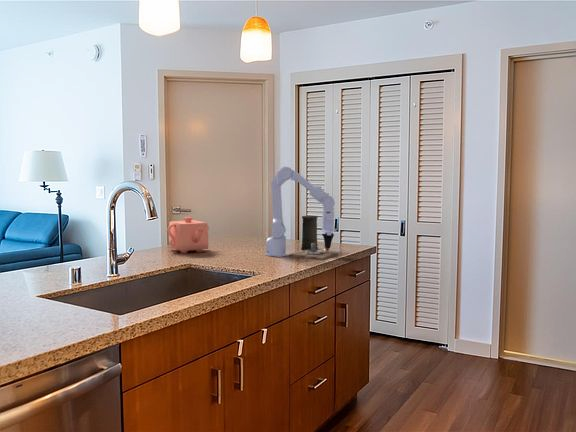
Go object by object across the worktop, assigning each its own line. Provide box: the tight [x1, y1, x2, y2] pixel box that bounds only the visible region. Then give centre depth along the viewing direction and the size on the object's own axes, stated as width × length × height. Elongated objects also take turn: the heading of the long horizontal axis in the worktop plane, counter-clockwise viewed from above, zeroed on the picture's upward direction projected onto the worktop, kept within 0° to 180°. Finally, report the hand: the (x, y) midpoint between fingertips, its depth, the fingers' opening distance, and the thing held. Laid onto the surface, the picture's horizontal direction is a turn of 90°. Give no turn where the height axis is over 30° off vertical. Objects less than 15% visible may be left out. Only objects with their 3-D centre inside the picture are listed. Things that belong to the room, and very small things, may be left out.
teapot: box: [166, 216, 210, 254], centre depth 266 cm, size 25×23×18 cm
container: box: [300, 215, 319, 251], centre depth 276 cm, size 9×9×18 cm
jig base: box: [288, 243, 339, 261], centre depth 256 cm, size 18×18×6 cm
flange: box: [305, 241, 331, 254], centre depth 256 cm, size 12×8×5 cm, turn 109°
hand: (327, 248), depth 254 cm, fingers closed
